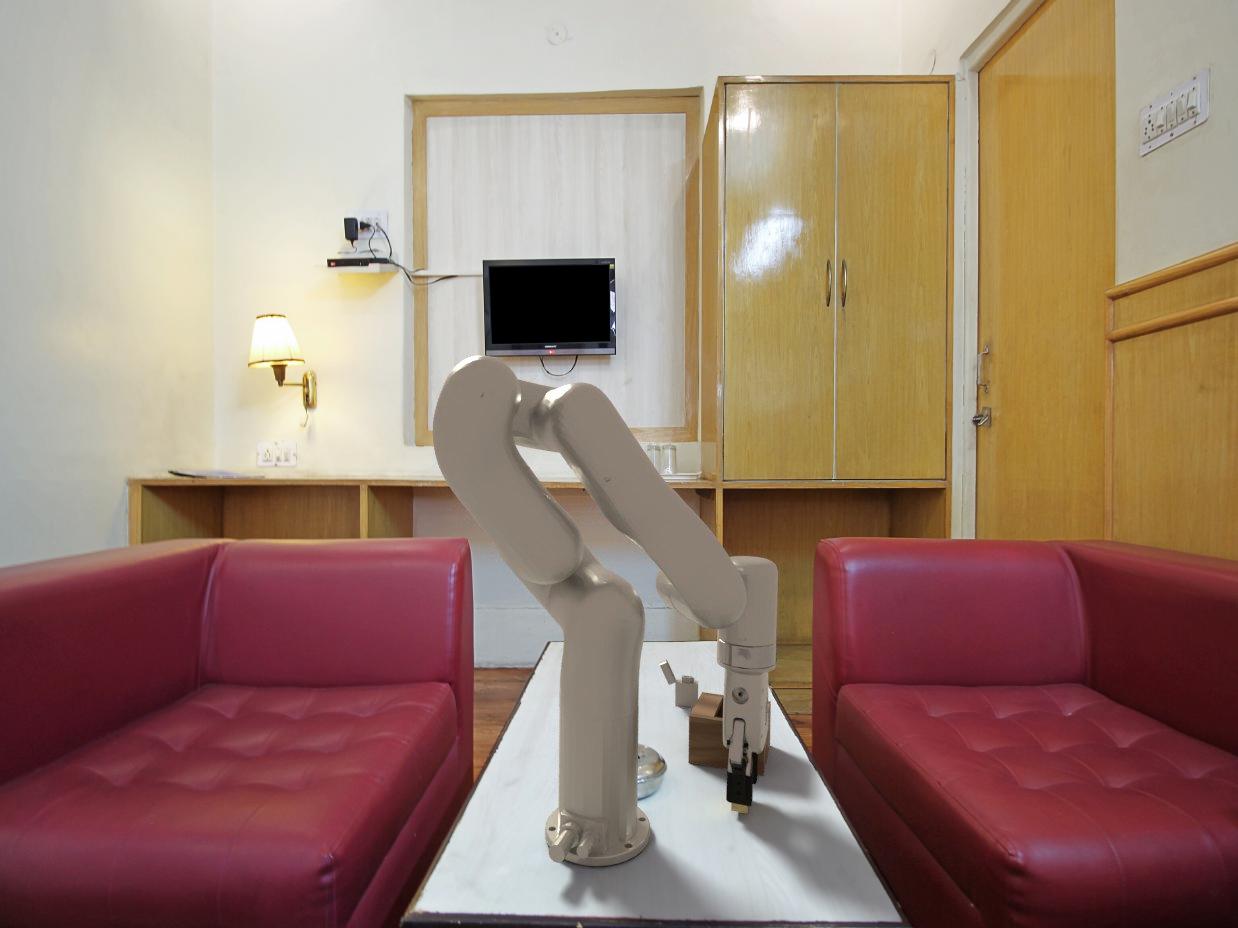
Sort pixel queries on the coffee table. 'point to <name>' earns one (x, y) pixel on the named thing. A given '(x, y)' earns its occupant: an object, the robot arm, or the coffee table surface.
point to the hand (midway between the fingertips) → (742, 790)
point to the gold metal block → (737, 806)
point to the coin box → (715, 734)
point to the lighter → (681, 687)
